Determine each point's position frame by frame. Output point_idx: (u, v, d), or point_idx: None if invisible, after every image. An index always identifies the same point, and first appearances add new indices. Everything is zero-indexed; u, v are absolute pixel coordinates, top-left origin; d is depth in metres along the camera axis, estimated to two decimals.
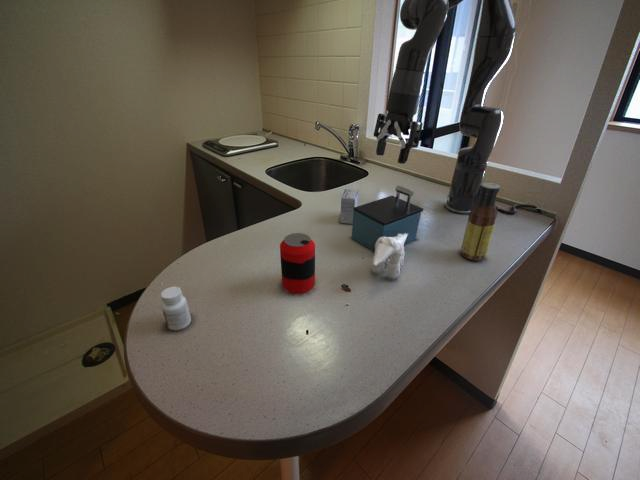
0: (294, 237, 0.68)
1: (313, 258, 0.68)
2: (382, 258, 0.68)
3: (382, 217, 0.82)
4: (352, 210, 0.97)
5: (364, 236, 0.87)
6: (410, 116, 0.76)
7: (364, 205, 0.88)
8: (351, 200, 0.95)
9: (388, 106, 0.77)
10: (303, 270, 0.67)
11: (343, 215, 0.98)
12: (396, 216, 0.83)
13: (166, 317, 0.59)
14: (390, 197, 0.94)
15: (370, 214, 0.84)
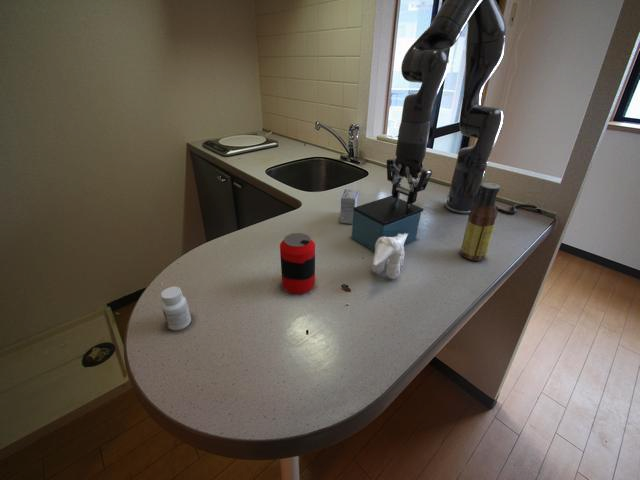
0: (294, 237, 0.68)
1: (313, 258, 0.68)
2: (382, 258, 0.68)
3: (382, 217, 0.82)
4: (352, 210, 0.97)
5: (364, 236, 0.87)
6: (420, 161, 0.81)
7: (364, 205, 0.88)
8: (351, 200, 0.95)
9: (398, 154, 0.82)
10: (303, 270, 0.67)
11: (343, 215, 0.98)
12: (396, 216, 0.83)
13: (166, 317, 0.59)
14: (390, 197, 0.94)
15: (370, 214, 0.84)
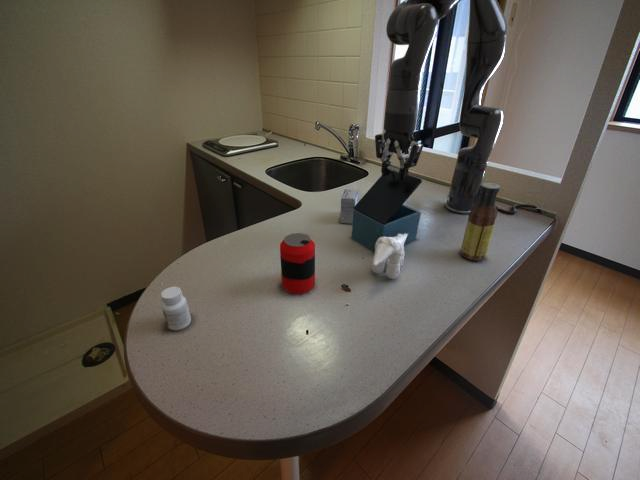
0: (294, 237, 0.68)
1: (313, 258, 0.68)
2: (382, 258, 0.68)
3: (381, 214, 0.81)
4: (352, 210, 0.97)
5: (364, 236, 0.87)
6: (410, 134, 0.74)
7: (363, 200, 0.87)
8: (351, 200, 0.95)
9: (386, 127, 0.75)
10: (303, 270, 0.67)
11: (343, 215, 0.98)
12: (394, 206, 0.81)
13: (166, 317, 0.59)
14: None
15: (369, 213, 0.83)
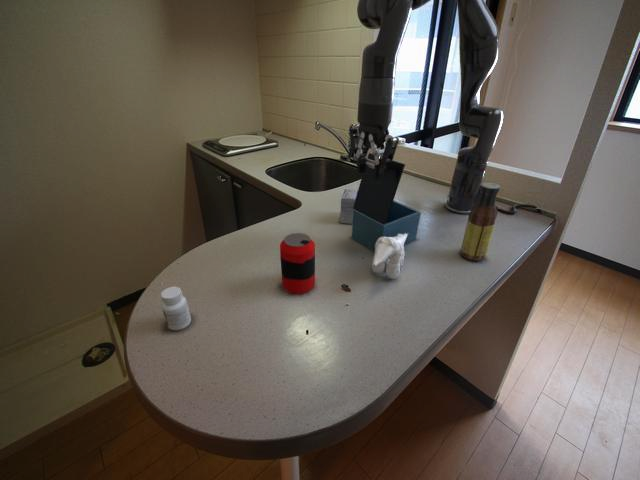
0: (294, 237, 0.68)
1: (313, 258, 0.68)
2: (382, 258, 0.68)
3: (378, 213, 0.80)
4: (352, 210, 0.97)
5: (364, 236, 0.87)
6: (385, 127, 0.68)
7: (358, 198, 0.85)
8: (351, 200, 0.95)
9: (359, 119, 0.69)
10: (303, 270, 0.67)
11: (343, 215, 0.98)
12: (387, 203, 0.78)
13: (166, 317, 0.59)
14: None
15: (368, 214, 0.83)
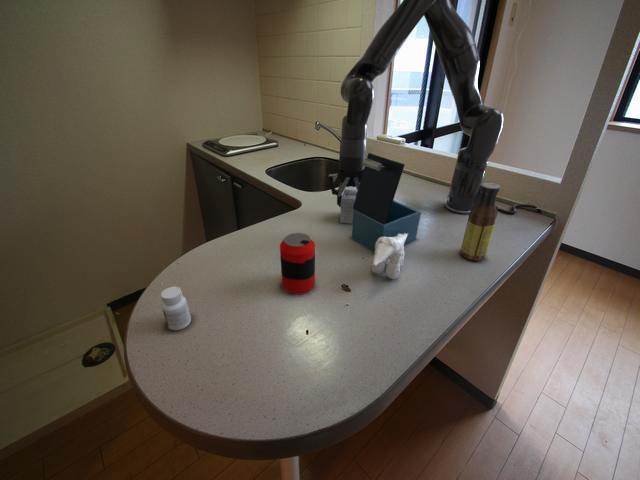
0: (294, 237, 0.68)
1: (313, 258, 0.68)
2: (382, 258, 0.68)
3: (378, 213, 0.80)
4: (352, 210, 0.97)
5: (364, 236, 0.87)
6: (363, 170, 0.95)
7: (358, 198, 0.85)
8: (351, 200, 0.95)
9: (350, 168, 0.91)
10: (303, 270, 0.67)
11: (343, 215, 0.98)
12: (386, 203, 0.78)
13: (166, 317, 0.59)
14: (368, 159, 0.82)
15: (368, 214, 0.83)
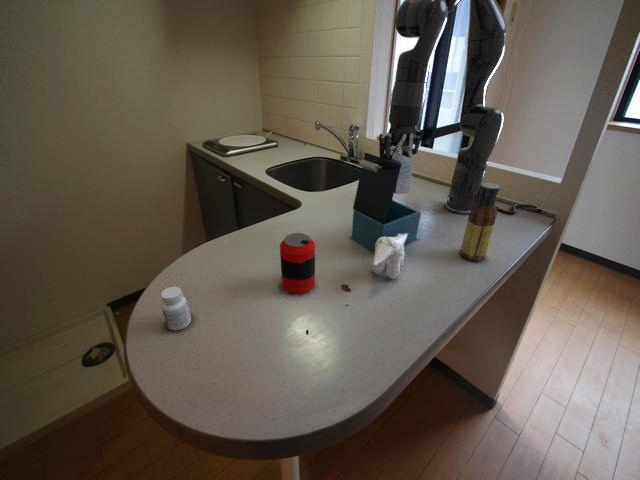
0: (294, 237, 0.68)
1: (313, 258, 0.68)
2: (382, 258, 0.68)
3: (377, 213, 0.80)
4: (410, 175, 0.80)
5: (364, 236, 0.87)
6: None
7: (357, 198, 0.85)
8: (410, 162, 0.78)
9: (414, 121, 0.73)
10: (303, 270, 0.67)
11: (400, 183, 0.80)
12: (385, 203, 0.78)
13: (166, 317, 0.59)
14: (366, 159, 0.81)
15: (368, 214, 0.83)
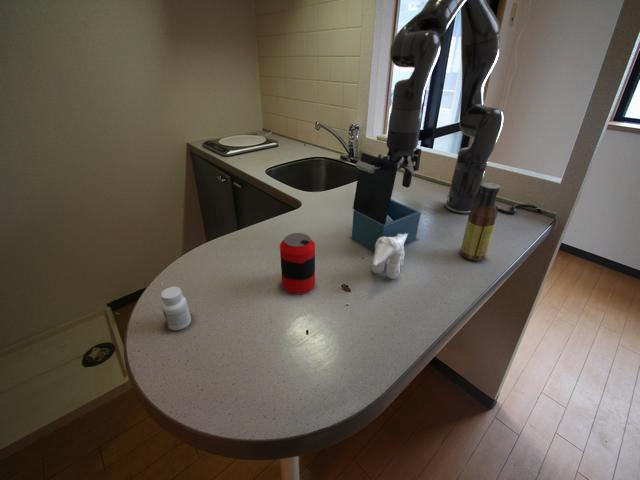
0: (294, 237, 0.68)
1: (313, 258, 0.68)
2: (382, 258, 0.68)
3: (377, 213, 0.80)
4: None
5: (364, 236, 0.87)
6: None
7: (356, 198, 0.85)
8: None
9: (410, 146, 0.76)
10: (303, 270, 0.67)
11: None
12: (384, 203, 0.78)
13: (166, 317, 0.59)
14: (363, 159, 0.81)
15: (367, 214, 0.83)
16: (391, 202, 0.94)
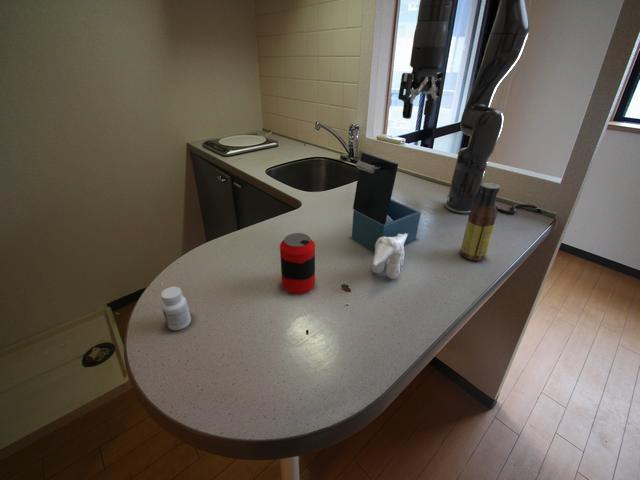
0: (294, 237, 0.68)
1: (313, 258, 0.68)
2: (382, 258, 0.68)
3: (377, 213, 0.80)
4: None
5: (364, 236, 0.87)
6: None
7: (356, 198, 0.85)
8: None
9: (436, 62, 0.74)
10: (303, 270, 0.67)
11: None
12: (384, 203, 0.78)
13: (166, 317, 0.59)
14: (363, 159, 0.81)
15: (367, 214, 0.83)
16: (391, 202, 0.94)
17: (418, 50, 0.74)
